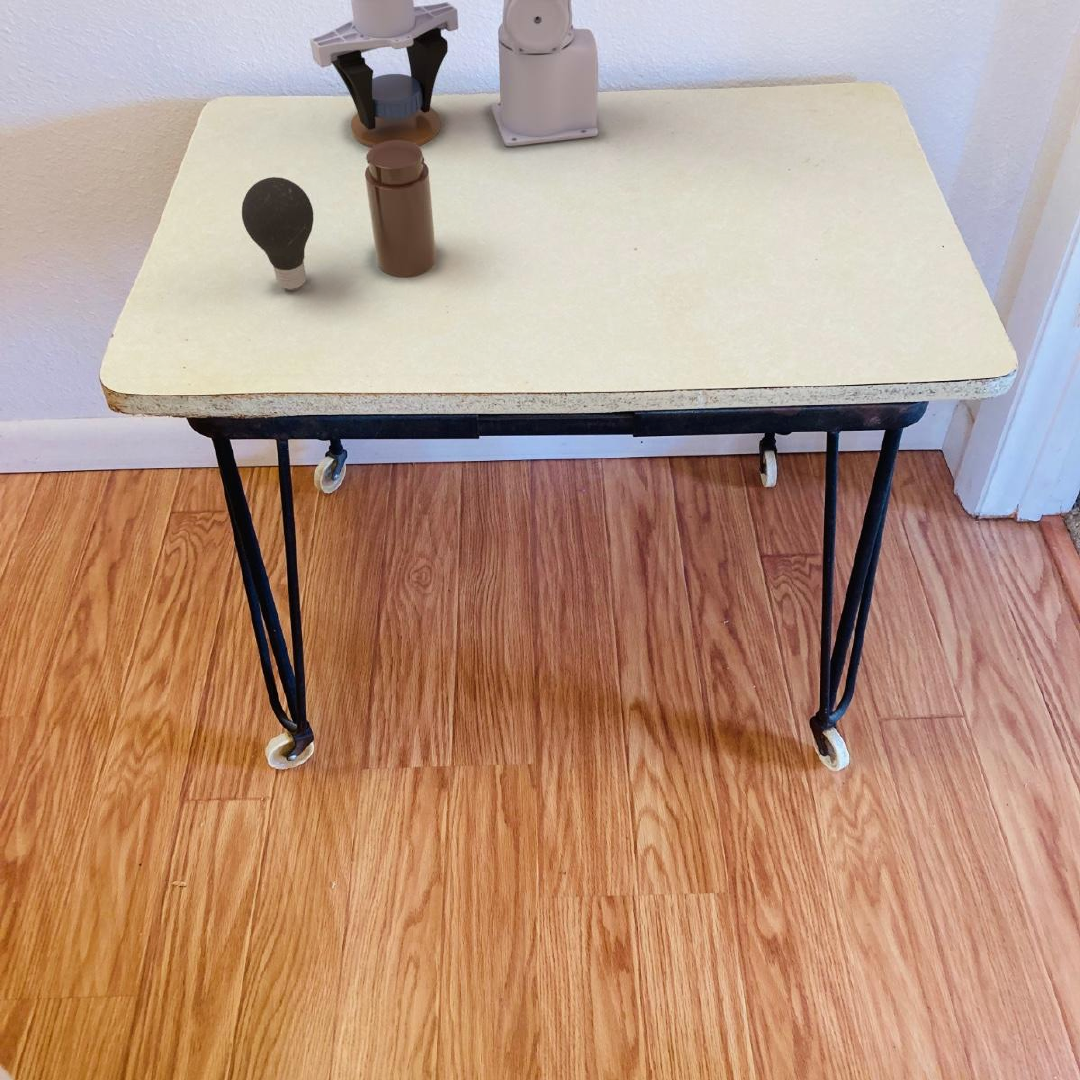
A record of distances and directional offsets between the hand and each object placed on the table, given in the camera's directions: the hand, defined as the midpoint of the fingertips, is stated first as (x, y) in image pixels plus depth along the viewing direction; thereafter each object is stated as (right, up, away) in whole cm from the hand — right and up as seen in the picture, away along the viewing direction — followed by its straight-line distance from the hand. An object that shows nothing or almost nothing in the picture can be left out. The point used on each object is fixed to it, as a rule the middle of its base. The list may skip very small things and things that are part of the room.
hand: (395, 116), depth 109 cm
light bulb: (-7, -21, -16) cm, 27 cm away
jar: (+3, -18, -14) cm, 23 cm away
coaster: (0, -1, +1) cm, 1 cm away
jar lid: (0, +2, -2) cm, 3 cm away
